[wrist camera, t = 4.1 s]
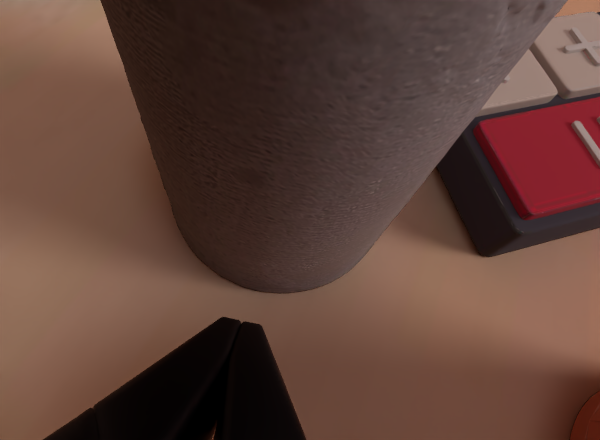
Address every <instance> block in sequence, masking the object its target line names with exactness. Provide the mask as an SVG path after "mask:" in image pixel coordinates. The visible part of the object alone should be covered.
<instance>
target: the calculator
mask: <svg viewBox="0 0 600 440" xmlns="http://www.w3.org/2000/svg"><path fill="white" fill-rule="evenodd" d="M437 168H438V170H439V172H440V174H441V176H442V179H443V181H444V183H445V185H446V187H447V189H448V191H449V193H450V195H451V197H452V199H453V201H454V203H455V205H456V207H457V209H458V211H459V213H460V215H461V217H462V219H463V221H464V223H465V225H466V227H467V230H468V232H469V234H470V236H471V238H472V240H473V242H474V244H475V246H476V248H477V250H478V251H479V253H480V254H482V255H483V256H486V257H492V256H496V255H500V254H503V253H507V252H511V251H514V250H518V249H522V248H525V247H529V246H533V245H537V244H540V243H544V242H548V241H551V240H555V239H559V238H562V237H566V236H570V235H573V234H577V233H581V232H584V231H588V230H592V229H595V228H599V227H600V12H598V13H595V12H586V13H579V14H573V15H566V16H559V17H554V18H553V19H552V20H551V21H550V22H549V23H548V25H547V26H546V27H545V28H544V30H543V31H542V32H541V34H540V35H539V36H538V37H537V39H536V40H535V41H534V42H533V44H532V45H531V46H530V48H529V49H528V50H527V51H526V53H525V54H524V55H523V56H522V58H521V59H520V60H519V61H518V63H517V64H516V65H515V66H514V68H513V69H512V70H511V71H510V73H509V74H508V75H507V76H506V77H505V79H504V80H503V81H502V82H501V84H500V85H499V86H498V87H497V89H496V90H495V91H494V93H493V94H492V95H491V97H490V98H489V99H488V101H487V102H486V103H485V105H484V106H483V107H482V109H481V110H480V112H479V113H478V114H477V116H476V117H475V118H474V119H473V120H472V121H471V123H470V124H469V125H468V126H467V127H466V129H465V130H464V131H463V132H462V133H461V135H460V136H459V137H458V139H457V140H456V141H455V143H454V144H453V145H452V146H451V148H450V149H449V150H448V152H447V153H446V154H445V156H444V157H443V158H442V159H441V161H440V162H439V163H438V164H437Z"/></svg>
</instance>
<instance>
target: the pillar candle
mask: <svg viewBox="0 0 600 440" xmlns="http://www.w3.org/2000/svg"><path fill="white" fill-rule="evenodd" d="M100 1H101V3H102V6H103V8H104V11H105V14H106V17H107V20H108V23H109V26H110V29H111V32H112V35H113V38H114V41H115V43H116V46H117V49H118V52H119V54H120V57H121V59H122V62H123V65H124V69H125V72H126V75H127V78H128V82H129V84H130V87H131V90H132V93H133V96H134V98H135V101H136V105H137V108H138V110H139V112H140V115H141V121H142V123H143V125H144V128H145V131H146V134H147V137H148V140H149V143H150V146H151V150H152V154H153V157H154V159H155V161H156V165H157V168H158V170H159V172H160V175H161V179H162V182H163V185H164V188H165V190H166V192H167V195H168V197H169V200H170V203H171V207H172V212H173V215H174V217H175V219H176V222H177V226H178V227H179V229H180V231H181V233H182V235H183V237H184V239H185V240H186V242H187V244H188V245H189V247H190V248H191V250H192V251H193V252H194V253H195V254H196V255H197V257H198V258H199V259H200V260H201V261H203V262H204V263H205V264H206V265H207V266H209V267H210V268H211V269H212V270H213V271H215V272H216V273H218V274H219V275H221V276H222V277H224V278H226V279H228V280H230V281H232V282H234V283H236V284H239V285H240V286H243V287H247V288H251V289H253V290H257V291H263V292H272V293H291V292H300V291H306V290H310V289H314V288H317V287H320V286H323V285H325V284H328V283H330V282H332V281H334V280H336V279H337V278H339V277H341V276H342V275H344V274H345V273H347V272H348V271H350V270H351V269H352V268H353V267H354V266H355V265H356V264H357V263H358V262H359V261H360V260H361V259H362V258H363V257H364V255H365V254H366V253H367V252H368V251H369V249H370V248H371V247H372V246H373V245H374V243H375V242H376V241H377V240H378V238H379V237H380V236H381V235H382V233H383V232H384V231H385V229H386V228H387V227H388V226H389V224H390V223H391V222H392V221H393V219H394V218H395V217H396V216H397V215H398V214H399V212H400V211H401V210H402V209H403V208H404V206H405V205H406V204H407V203H408V201H409V200H410V199H411V197H412V196H413V195H414V194H415V192H416V191H417V190H418V189H419V188H420V186H421V185H422V184H423V182H424V181H425V180H426V179H427V177H428V176H429V175H430V173H431V172H432V171H433V169H434V168H435V167H436V166H437V164H438V163H439V162H440V161H441V159H442V158H443V157H444V156H445V154H446V153H447V152H448V150H449V149H450V148H451V146H452V145H453V144H454V143H455V141H456V140H457V139H458V137H459V136H460V135H461V133H462V132H463V131H464V130H465V129H466V127H467V126H468V125H469V124H470V123H471V121H472V120H473V119H474V118H475V117H476V116H477V114H478V113H479V112H480V110H481V109H482V107H483V106H484V105H485V103H486V102H487V101H488V99H489V98H490V97H491V95H492V94H493V93H494V91H495V90H496V89H497V87H498V86H499V85H500V84H501V82H502V81H503V80H504V79H505V77H506V76H507V75H508V74H509V73H510V71H511V70H512V69H513V68H514V66H515V65H516V64H517V63H518V61H519V60H520V59H521V58H522V56H523V55H524V54H525V53H526V51H527V50H528V49H529V48H530V46H531V45H532V44H533V42H534V41H535V40H536V39H537V37H538V36H539V35H540V34H541V32H542V31H543V30H544V28H545V27H546V26H547V25H548V23H549V22H550V21H551V20H552V19H553V18H554V16H555V15H556V14H557V13H558V12H559V11H560V9H561V8H562V7H563V5H564V4H565V3H566V2H567V0H100Z"/></svg>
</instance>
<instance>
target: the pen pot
mask: <svg viewBox="0 0 600 440" xmlns="http://www.w3.org/2000/svg"><path fill="white" fill-rule="evenodd" d="M570 440H600V391H598V392H597V393H596V394H594V395H593V396H592V397H591V398H590V399H589V400H588V401H587V402H586V403H585V404H584V406H583V407H582V409H581V410H580V412H579V414H578V415H577V418H576V420H575V423H574V425H573V428H572V432H571V436H570Z"/></svg>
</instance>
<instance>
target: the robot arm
mask: <svg viewBox="0 0 600 440" xmlns="http://www.w3.org/2000/svg"><path fill="white" fill-rule="evenodd" d="M215 428H216V429H215ZM214 431H215V435H214V440H306V437H305V435H304V432H303V430H302V427H301V424H300V422H299V419H298V417H297V414H296V412H295V409H294V407H293V404H292V402H291V399H290V396H289V394H288V391H287V389H286V386H285V384H284V381H283V379H282V376H281V373H280V371H279V368H278V366H277V363H276V361H275V358H274V356H273V353H272V350H271V348H270V345H269V343H268V340H267V338H266V335H265V333H264V330H263V328H262V326H261V325H259V324H255V323H250V322H243V323H242V324H241V322H240V321H239V320H236V319H231V318H227V317H221V318H220V319H218V320H217V321H215V322H214V323H212V324H211V325H209V326H208V327H207V328H205V329H204V330H202V331H201V332H199V333H198V334H196V335H195V336H194V337H192V338H191V339H189V340H188V341H186V342H185V343H183V344H182V345H181V346H179V347H178V348H176V349H175V350H173V351H172V352H170V353H169V354H168V355H166V356H165V357H163V358H162V359H160V360H159V361H157V362H156V363H155V364H153V365H152V366H150V367H149V368H147V369H146V370H144V371H143V372H142V373H140V374H139V375H137V376H136V377H134V378H133V379H131V380H130V381H129V382H127V383H126V384H124V385H123V386H121V387H120V388H118V389H117V390H115V391H114V392H113V393H111V394H110V395H108V396H107V397H105V398H104V399H102V400H101V401H100V402H98V403H97V404H95V405H94V407H93V408H89V409H88V410H86V411H85V412H83V413H82V414H80V415H79V416H78V417H76V418H75V419H73V420H72V421H70V422H69V423H67V424H66V425H64V426H63V427H61V428H60V429H58V430H57V431H55V432H54V433H52V434H51V435H49V436H48V437H46V438H44V439H43V440H212V437H213V434H214Z"/></svg>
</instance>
